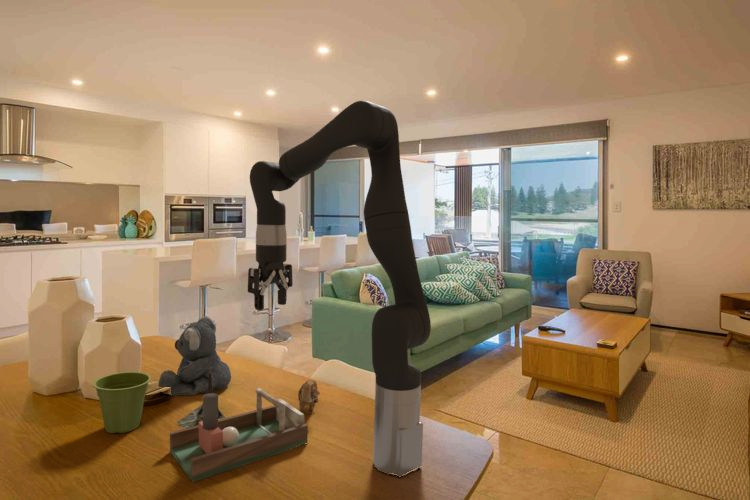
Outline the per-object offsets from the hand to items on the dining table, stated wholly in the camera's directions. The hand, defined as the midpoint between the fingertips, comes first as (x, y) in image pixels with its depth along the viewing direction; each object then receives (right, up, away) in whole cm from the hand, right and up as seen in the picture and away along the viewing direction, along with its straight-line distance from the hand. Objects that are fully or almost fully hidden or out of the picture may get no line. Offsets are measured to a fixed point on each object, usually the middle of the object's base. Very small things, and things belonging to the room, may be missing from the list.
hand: (271, 307), depth 121 cm
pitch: (-3, -28, -18) cm, 33 cm away
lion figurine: (+9, -27, +3) cm, 29 cm away
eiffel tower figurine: (-15, -27, -2) cm, 31 cm away
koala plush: (-24, -25, +17) cm, 39 cm away
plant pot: (-32, -27, -10) cm, 43 cm away
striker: (-8, -27, -22) cm, 36 cm away
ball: (-5, -25, -20) cm, 32 cm away
